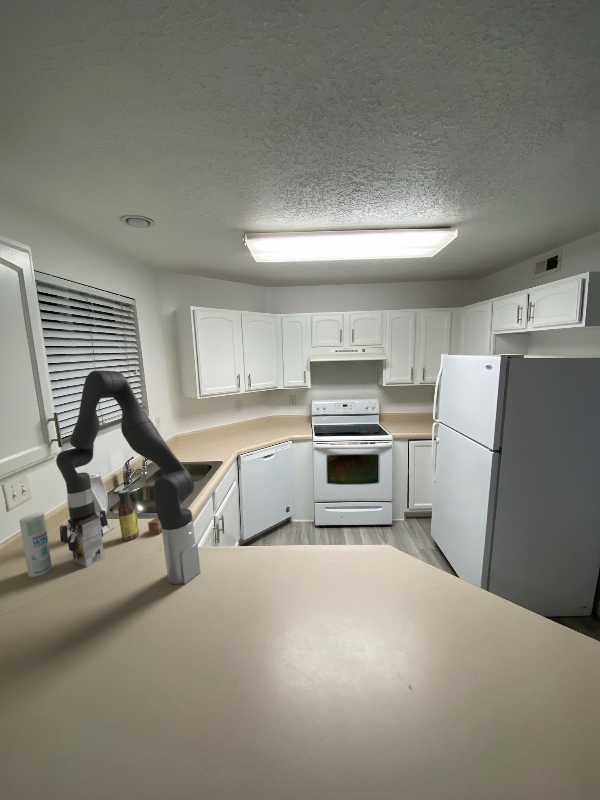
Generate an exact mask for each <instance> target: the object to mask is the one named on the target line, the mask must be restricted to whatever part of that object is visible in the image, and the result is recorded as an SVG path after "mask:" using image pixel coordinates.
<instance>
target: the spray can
mask: <svg viewBox="0 0 600 800" xmlns="http://www.w3.org/2000/svg"><path fill="white" fill-rule="evenodd" d="M19 527H20V533H21V539H22V545H23V550H24V551H23V552H24V557H25V563H26V567H27V575H28V577H29V578H34V577H39V576H41V575H44V574H46V573H48V572H50V570H51V569H52V559H51V551H50V545H49V544H50V543H49V537H48V530H47V523H46V516H45V512H36V513H31V514H28V515H25V516H23V517H22V518H20V519H19Z"/></svg>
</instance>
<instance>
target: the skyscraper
mask: <svg viewBox="0 0 600 800" xmlns="http://www.w3.org/2000/svg"><path fill="white" fill-rule="evenodd" d="M89 476H90V482H91V489H92V492H93V498H94V505H95V513H97V512H99V510H103V511H105V513H106V514H107V512H108V503H109V502H108V491H107V488H106V484H105V481H104V480H103V477H102V476H103V471H102V470H101V469H100V470H99V471H98V472H96V473H95V472H94V473H91V474H89ZM106 518H107V516H106ZM99 519H100V517H99ZM107 522H108V524H107V525H106V526H104V527H103V529H102V530H103V536H104V535H106V534H107V532H108V531H109V532H111V531H112V530H111V529H113V528H111V527H112V526H111V525H110V522H109V519H108V518H107ZM100 524H101V521H100ZM110 530H111V531H110ZM113 530H114V529H113ZM109 532H108V533H109ZM105 533H106V534H105Z"/></svg>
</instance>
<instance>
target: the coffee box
mask: <svg viewBox="0 0 600 800" xmlns="http://www.w3.org/2000/svg"><path fill="white" fill-rule="evenodd" d="M67 522H68V523H67V524H69V523H70V518H69V519H68V520H67ZM75 525H76V529H74V528H72V527H69V530H68V531H69V533H70V532H71V530H72V529H73V532H75V531H76V530H77V533H78V536H76V538H75V540H74V541H75V545H76V551H75V552H72V556H73V561H74V563H77V564H78V565H81V566H83V567H86V568H87V567H90V566H92V565H93V564H96V563H97V562H99V561H101V560H103V559H105V551H104V545H103V544H104V543H103V537H102V534H101V526H100V519H99V516H96V515H93V516H90V517H87V518H84V519H81V520H79V521H77V522H75Z"/></svg>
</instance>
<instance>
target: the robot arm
mask: <svg viewBox="0 0 600 800" xmlns="http://www.w3.org/2000/svg"><path fill="white" fill-rule="evenodd" d="M108 398H109V399H111V398H112V399H114V400H115V401H116V402H117V404H118V406H119V408H120V410H121V414H122V415H121V420H120V421H121V423H120V426H121V427H120V428H121V429H120V430H121V431H120V432H121V434H122V435H123V437H124V439H125V440H126V442H127V443H128V445H129V446H130V449H132V450H133V451H134V452H135V453H136V454H138V455H140V456H142V457H143V458H145V459H146V460H148V461H150V462H152V463H154V464H155V465H156V466H158V468H159V469H160V470H161V471H162V472H163V474H164V475H163V476H161V477H159V478H157V479H156V480H155V481H154V483H153V488H152V493H153V498H154V504H155V505H154V506H155V509H156V515H157V516H156V517H158V519H159V521H160V523H161V528H162V533H161V536H162V543H163V550H164V551H163V552H164V559H165V565H166V566H165V567H166V574H167V582H168V583H169V584H173V585H174V584H175V585H179V584H187V583H188V582H190V581H191V580H192V579H194V578H195V577H196V576H197V575H198V574H200V573H201V572H202V571H201V566H200V565H201V564H200V556H199V555H200V554H199V545H198V543H196V538H195V530H194V529H195V528H194V519H193V513H192V510H191V509H188V508H181V505H180V501H182V500H184V499H186V498H187V497H189V496H190V495H191V494H193V493H194V490H195V481H194V478H193V477H192V475H191V474H190V472H189V471H188V470H187V468H186V467H185V466H184V465H183V463H181V461H180V459H179V458H177V456H176V455H175V454H174V453H173V451H172V450H171V448H170V447H169V445H168V444H167V442H165V440H164V438H163V437H162V436H161V434H160V432H159V430H158V429H157V427H156V426H155V424H154V423H153V422H152V421H151V419H150V417H149V416H148V415H147V413H146V411H145V410H144V408H143V406H142V405H141V403H140V402H139V400H138V398H137V396H136V394H135V393H134V391H133V389H132V386H131V385H130V383H129V381H128V379H127V378H126V376H125V375H124V374H123V373H121V372H120V371H116V370H92V371H91V372H89V373H88V374H87V376H86V377H85V380H84V384H83V387H82V393H81V398H80V404H79V405H80V406H79V410H78V416H77V420H76V423H75V426H74V428H73V431H72V433H71V435H70V439H69V444H70V445H71V447H73V448H70V449H65V450H62V451H60V452H58V454H57V455H56V459H55V462H56V463H55V464H56V466H57V468H58V470H59V472H60V473H61V475H62V477H63V480H64V482H65V486H66V493H67V495H66V496H67V498H66V499H67V507H68V514H69V519H70V523H69V524H68V523H67V524H61V525H59V538H60V543H63V544H68V550H69V551H70V552H72V553H73V552H75V551H76V545H75V541H74V540H75V538H76V536H78V533H77V530H76V531H75V532H73V529H72V530H71V532H70V531H69V527H72V528H74V529H76V525H75V522H77V521H79V520H81V519H84V518H87V517H90V516H93V515H96V516H99V517H100V521H101V524H100V526H101V534H102V538H103V537H104V535H103V530H102V529H103V527H104V526H106V525H107V524H108V522H109V521H108V522H107V519H108V518H106V517H107V513H105V511H103V510H99V512H97V513H95V505H94V498H93V492H92V489H91V482H90V474H89V473H88V472H77V470H76V469H77V468H80V467H85V466H86V465H88V464H89V463H90V462H92V460H93V458H94V448H95V444H94V443H95V441H96V438H97V436H98V433H99V432H100V426H101V423H100V419H99V416H98V413H97V406H98V404H99V402H100V401H101V399H108ZM68 531H69V533H68Z"/></svg>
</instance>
